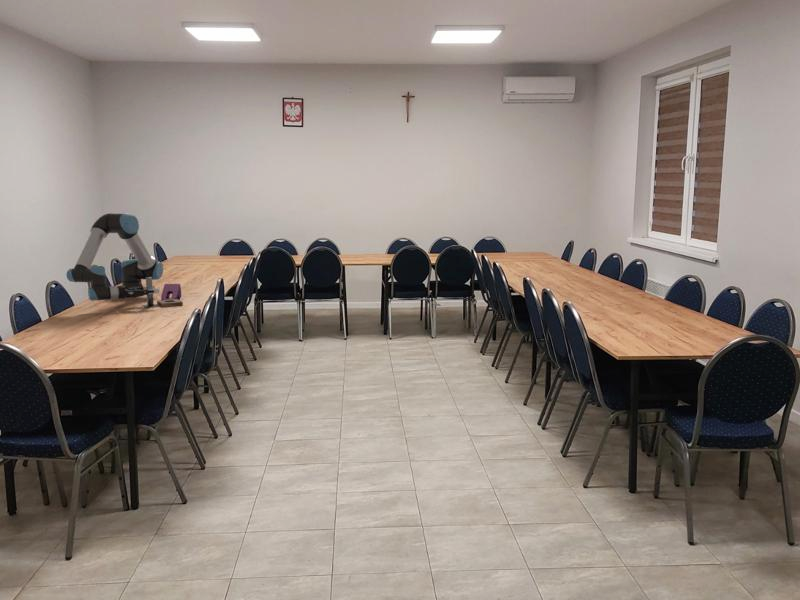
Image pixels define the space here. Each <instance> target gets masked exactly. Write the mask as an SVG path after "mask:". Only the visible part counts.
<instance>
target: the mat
mask: <svg viewBox="0 0 800 600" xmlns="http://www.w3.org/2000/svg"><path fill="white" fill-rule="evenodd" d="M153 304H154V303H153ZM141 306H142V307H143V308H145V309H151V308H160V306H159V305H158V304H156V303H155V304H154V306H152V307H148V306H147V304H144V305H141Z"/></svg>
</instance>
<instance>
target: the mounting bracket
mask: <svg viewBox="0 0 800 600" xmlns="http://www.w3.org/2000/svg"><path fill="white" fill-rule="evenodd" d="M181 287H182V286H181V283H164V285H163V289H162V292H161V295H160V298H161V299H160V300H172V299H178V300H181V299H182V288H181ZM170 296H171V297H170ZM180 298H181V299H180Z"/></svg>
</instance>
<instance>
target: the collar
mask: <svg viewBox="0 0 800 600" xmlns="http://www.w3.org/2000/svg"><path fill="white" fill-rule="evenodd" d="M156 303H157V304H156V305H157V306H159V307H161V308H168V307H169V308H171V307H181V306H184V305H183V304H184V302H183V301H181V299H172V300H161V299H160V300H157V301H156Z"/></svg>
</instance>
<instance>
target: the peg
mask: <svg viewBox="0 0 800 600" xmlns="http://www.w3.org/2000/svg"><path fill="white" fill-rule="evenodd" d="M145 285H146V286H145V287H146V288H147V290H148V289H153V286H154V285H153V280H152V277H146V279H145ZM146 301H147V304H146V305H147V306H148V307H152V306H154V294H148V295H146Z"/></svg>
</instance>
